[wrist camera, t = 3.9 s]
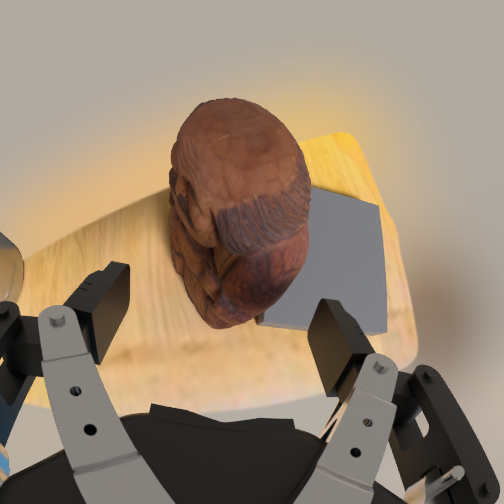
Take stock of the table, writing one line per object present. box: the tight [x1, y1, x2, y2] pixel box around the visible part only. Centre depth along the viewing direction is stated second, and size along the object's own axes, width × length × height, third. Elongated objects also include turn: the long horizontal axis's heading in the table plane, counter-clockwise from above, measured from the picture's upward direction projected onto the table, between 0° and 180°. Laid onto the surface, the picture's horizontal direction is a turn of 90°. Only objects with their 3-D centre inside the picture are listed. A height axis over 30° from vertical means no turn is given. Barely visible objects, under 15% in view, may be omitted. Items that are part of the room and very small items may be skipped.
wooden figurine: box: [169, 98, 311, 329], centre depth 18 cm, size 12×6×18 cm, turn 27°
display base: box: [257, 187, 387, 336], centre depth 28 cm, size 13×15×2 cm
